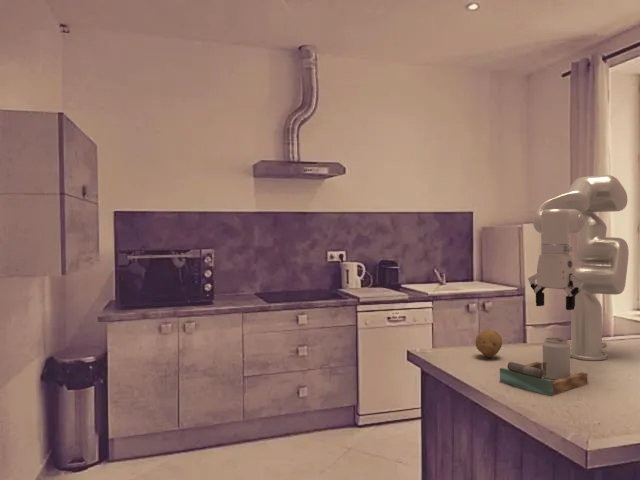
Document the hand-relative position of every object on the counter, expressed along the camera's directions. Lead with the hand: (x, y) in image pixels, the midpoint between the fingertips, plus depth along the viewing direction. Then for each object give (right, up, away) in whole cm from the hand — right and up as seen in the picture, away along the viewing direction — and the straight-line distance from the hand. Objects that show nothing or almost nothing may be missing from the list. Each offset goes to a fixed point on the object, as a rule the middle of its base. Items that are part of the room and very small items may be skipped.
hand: (554, 307), depth 156 cm
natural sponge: (-11, -21, +26) cm, 35 cm away
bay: (-4, -22, -3) cm, 22 cm away
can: (+1, -22, 0) cm, 22 cm away
